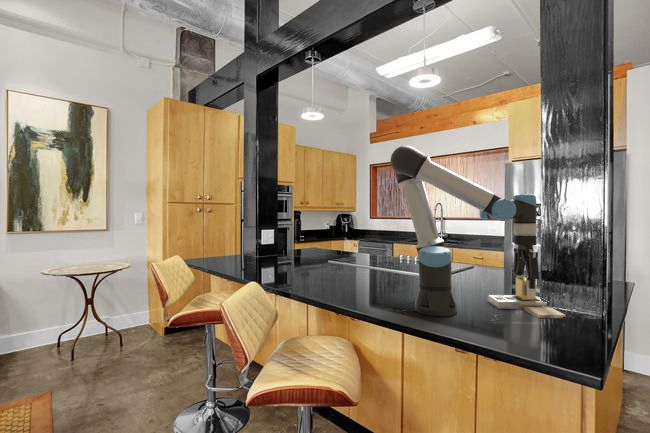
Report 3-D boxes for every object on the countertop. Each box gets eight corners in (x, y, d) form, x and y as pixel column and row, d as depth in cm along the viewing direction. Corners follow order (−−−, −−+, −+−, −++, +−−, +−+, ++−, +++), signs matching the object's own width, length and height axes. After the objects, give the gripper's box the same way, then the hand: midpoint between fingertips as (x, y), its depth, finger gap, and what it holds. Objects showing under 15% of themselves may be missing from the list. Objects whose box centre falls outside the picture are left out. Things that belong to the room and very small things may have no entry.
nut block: (522, 306, 127) (521, 280, 127) (515, 303, 132) (515, 277, 132) (536, 307, 127) (535, 280, 127) (529, 303, 132) (529, 277, 132)
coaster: (537, 319, 114) (537, 314, 114) (524, 311, 123) (524, 307, 123) (565, 319, 114) (565, 315, 114) (550, 311, 123) (550, 307, 123)
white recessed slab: (498, 309, 126) (498, 301, 126) (488, 302, 136) (488, 294, 136) (549, 310, 124) (549, 301, 124) (535, 302, 134) (535, 295, 134)
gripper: (550, 236, 119) (551, 301, 119) (522, 232, 139) (523, 288, 139) (527, 236, 120) (528, 301, 120) (503, 233, 140) (504, 288, 140)
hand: (525, 294), depth 129 cm, fingers open, 7 cm apart
